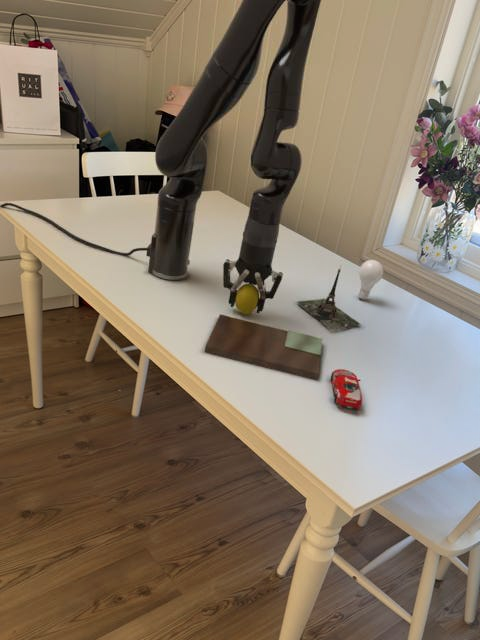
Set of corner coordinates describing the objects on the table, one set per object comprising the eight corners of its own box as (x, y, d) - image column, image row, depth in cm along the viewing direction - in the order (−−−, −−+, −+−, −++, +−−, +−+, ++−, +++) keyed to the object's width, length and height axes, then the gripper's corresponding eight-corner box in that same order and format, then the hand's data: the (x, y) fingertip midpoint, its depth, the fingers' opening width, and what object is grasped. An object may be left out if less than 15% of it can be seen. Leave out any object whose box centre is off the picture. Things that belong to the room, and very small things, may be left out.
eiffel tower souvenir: (361, 327, 149) (379, 277, 142) (332, 332, 144) (348, 280, 136) (323, 300, 158) (338, 251, 151) (294, 303, 153) (307, 253, 145)
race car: (328, 375, 127) (333, 359, 125) (353, 380, 127) (359, 363, 125) (333, 410, 116) (339, 393, 114) (360, 415, 117) (366, 398, 114)
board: (204, 352, 125) (205, 345, 124) (218, 319, 138) (220, 313, 137) (316, 380, 124) (318, 373, 123) (320, 345, 137) (322, 338, 136)
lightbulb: (376, 299, 166) (389, 261, 159) (370, 306, 161) (383, 267, 154) (354, 291, 167) (366, 253, 161) (348, 298, 162) (360, 260, 156)
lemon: (253, 322, 140) (260, 290, 136) (230, 316, 141) (236, 284, 136) (257, 312, 145) (264, 281, 140) (235, 306, 145) (241, 275, 140)
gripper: (293, 241, 135) (276, 309, 145) (230, 226, 135) (218, 295, 145) (289, 252, 129) (272, 322, 139) (224, 236, 129) (212, 308, 139)
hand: (245, 308), depth 142 cm, fingers closed on lemon, 5 cm apart
